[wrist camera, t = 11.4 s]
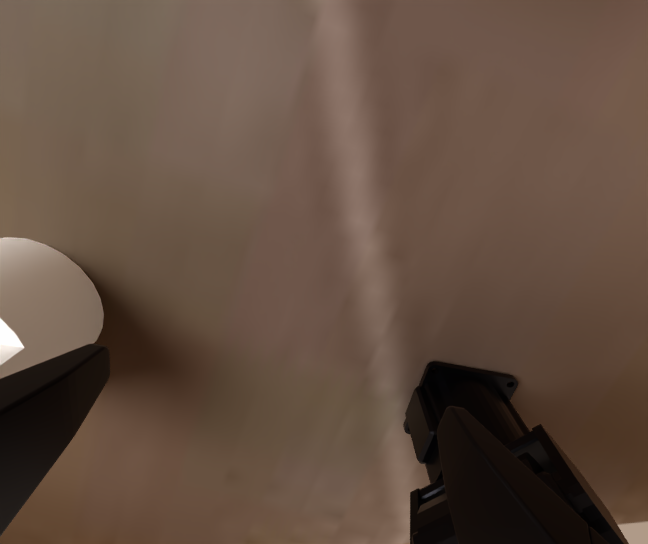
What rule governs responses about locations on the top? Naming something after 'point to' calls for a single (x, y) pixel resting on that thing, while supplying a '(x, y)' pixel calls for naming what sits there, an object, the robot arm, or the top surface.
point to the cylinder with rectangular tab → (43, 305)
